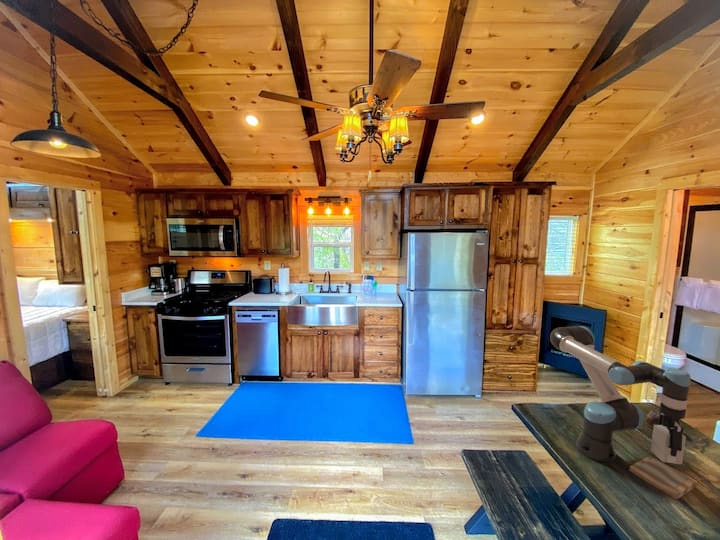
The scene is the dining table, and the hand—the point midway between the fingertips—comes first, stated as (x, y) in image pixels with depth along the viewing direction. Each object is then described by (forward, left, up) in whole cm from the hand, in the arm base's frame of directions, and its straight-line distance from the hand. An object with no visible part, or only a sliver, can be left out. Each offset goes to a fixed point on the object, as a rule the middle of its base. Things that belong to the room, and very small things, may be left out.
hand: (665, 454), depth 132 cm
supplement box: (0, 0, -1) cm, 1 cm away
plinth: (0, 0, -12) cm, 12 cm away
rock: (+15, +45, -12) cm, 48 cm away
